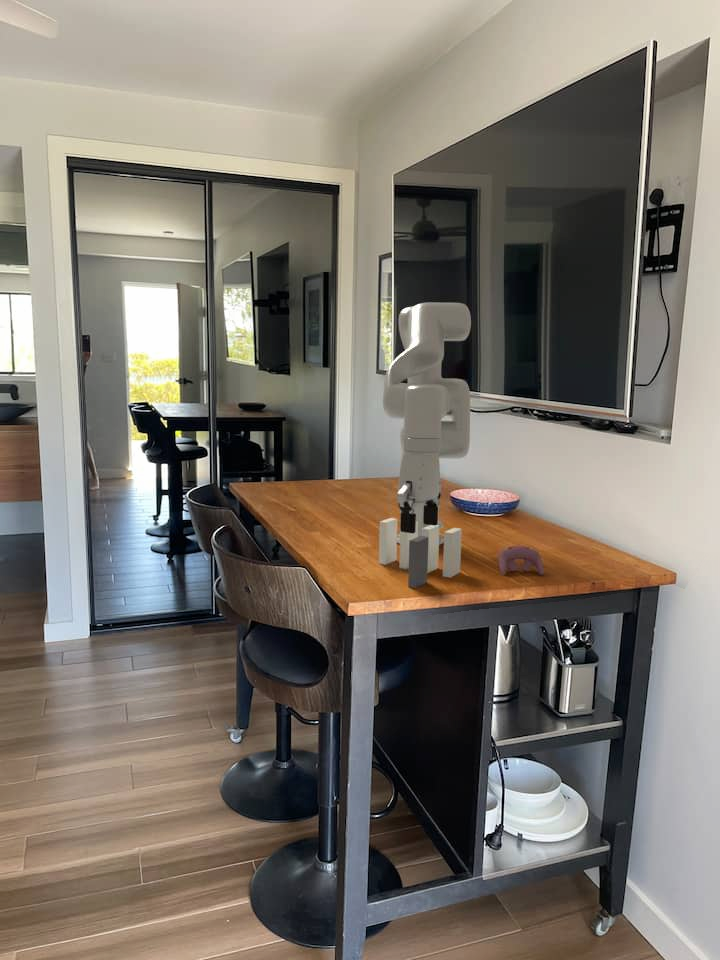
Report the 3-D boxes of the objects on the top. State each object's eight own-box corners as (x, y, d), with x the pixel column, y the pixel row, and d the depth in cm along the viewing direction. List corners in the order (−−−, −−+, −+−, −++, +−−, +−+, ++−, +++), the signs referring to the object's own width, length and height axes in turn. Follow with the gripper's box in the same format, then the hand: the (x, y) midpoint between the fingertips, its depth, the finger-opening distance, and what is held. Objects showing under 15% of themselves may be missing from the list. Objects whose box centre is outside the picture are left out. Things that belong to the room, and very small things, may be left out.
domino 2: (399, 567, 164) (400, 525, 162) (410, 562, 168) (411, 521, 166) (406, 569, 163) (407, 526, 161) (416, 564, 167) (418, 522, 165)
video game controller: (540, 578, 163) (537, 547, 165) (545, 574, 159) (543, 543, 161) (496, 577, 163) (495, 547, 165) (501, 574, 158) (499, 543, 160)
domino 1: (378, 563, 167) (379, 521, 165) (389, 558, 171) (390, 517, 169) (385, 565, 166) (386, 522, 164) (396, 560, 170) (397, 518, 168)
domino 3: (408, 586, 150) (409, 540, 148) (419, 581, 154) (420, 535, 153) (415, 588, 149) (417, 541, 147) (427, 582, 153) (428, 536, 152)
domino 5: (442, 576, 158) (444, 532, 156) (452, 570, 162) (454, 527, 160) (450, 577, 157) (451, 533, 155) (459, 572, 161) (461, 528, 159)
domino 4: (420, 571, 161) (421, 528, 159) (430, 566, 165) (432, 524, 163) (427, 573, 160) (429, 529, 158) (438, 568, 164) (439, 525, 162)
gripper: (425, 442, 156) (423, 519, 158) (384, 448, 141) (382, 533, 144) (457, 444, 152) (454, 524, 154) (417, 450, 137) (415, 538, 140)
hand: (419, 528), depth 149 cm, fingers open, 9 cm apart
